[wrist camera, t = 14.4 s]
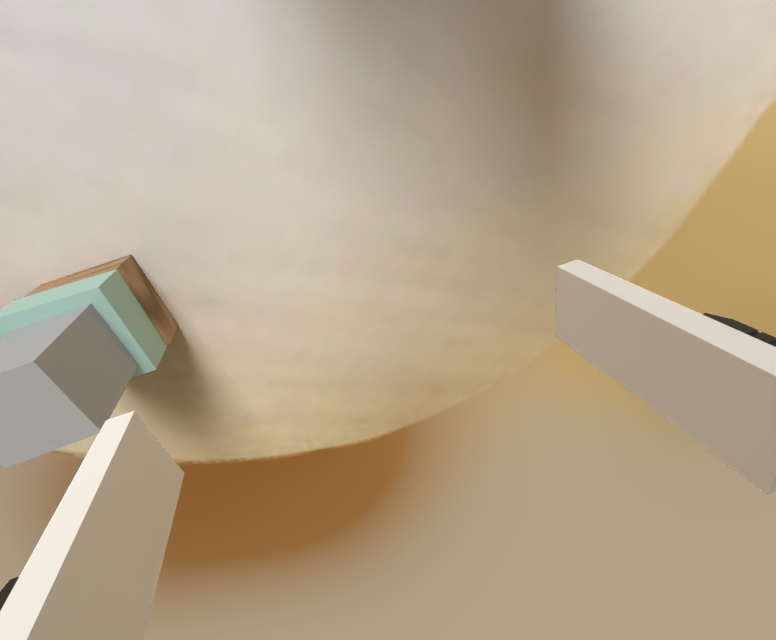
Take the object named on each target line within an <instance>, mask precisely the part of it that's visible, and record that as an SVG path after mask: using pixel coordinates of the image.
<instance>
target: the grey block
mask: <svg viewBox="0 0 776 640" xmlns="http://www.w3.org/2000/svg"><path fill="white" fill-rule="evenodd" d="M137 366H138V363H137V361H136V360H135V359H134V357H133V356H132V355H131V354H130V352H129V351H128V350H127V348H126V347H125V346H124V345H123V343H122V342H121V341H120V340H119V338H118V337H117V336H116V334H115V333H114V332H113V331H112V329H111V328H110V327H109V326H108V324H107V323H106V322H105V320H104V319H103V318H102V317H101V315H100V314H99V313H98V312H97V310H96V309H95V308H94V306H93V305H92V304H91V303H90V304H87V305H84V306H81V307H79V308H76V309H73V310H70V311H67V312H64V313H61V314H58V315H55V316H52V317H49V318H46V319H43V320H40V321H37V322H35V323H32V324H29V325H26V326H23V327H20V328H17V329H14V330H11V331H8V332H7V333H5V334H4V335H3V336H2V337H0V464H1V465H2V466H3V467H4V468H8V467H11V466H13V465H16V464H18V463H21V462H24V461H26V460H29V459H32V458H34V457H37V456H39V455H42V454H45V453H48V452H50V451H53V450H56V449H58V448H61V447H63V446H66V445H69V444H71V443H74V442H77V441H79V440H82V439H85V438H87V437H90V436H92V435H95V434H98V433H99V432H100V430H101V428H102V426H103V424H104V423H105V421H106V420H108V419H109V418H110V416H111V414H112V412H113V410H114V408H115V407H116V405H117V403H118V401H119V399H120V397H121V396H122V394H123V392H124V390H125V388H126V386H127V385H128V383H129V381H130V379H131V377H132V375H133V374H134V372H135V370H136V368H137Z"/></svg>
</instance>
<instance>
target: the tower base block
mask: <svg viewBox="0 0 776 640" xmlns="http://www.w3.org/2000/svg"><path fill="white" fill-rule="evenodd" d="M116 269H117V270H118V271H119V273H120V274H121V276H122V277H123V279H124V280H125V282H126V284H127V285H128V287H129V288H130V290H131V291H132V293H133V294H134V296H135V297H136V299H137V300H138V302H139V303H140V305H141V306H142V308H143V309H144V311H145V312H146V314H147V316H148V317H149V319H150V320H151V322H152V323H153V325H154V326H155V328H156V329H157V331H158V332H159V334H160V335H161V337H162V338H163V340H164V341H165V343H166V344H167V345H169V344H170V343H171V341H172V339H173V337H174V335H175V333H176V330H177V328H178V326H179V325H178V324H177V322H176V321H175V319H174V318H173V316H172V315H171V313H170V312H169V310H168V309H167V307H166V306H165V304H164V303H163V301H162V300H161V298H160V297H159V295H158V294H157V292H156V291H155V289H154V288H153V286H152V285H151V283H150V282H149V280H148V279H147V277H146V276H145V274H144V273H143V271H142V270H141V268H140V267H139V265H138V264H137V262H136V261H135V259H134V258H133V256H132V255H128V256H125V257H122V258H119V259H116V260H113V261H110V262H107V263H104V264H101V265H98V266H95V267H92V268H89V269H86V270H83V271H80V272H77V273H74V274H71V275H68V276H65V277H62V278H59V279H56V280H53V281H50V282H47V283H44V284H42V285H40V286H39V287H37V288H36V289H34V290H33V291H32V292H30V293H29V294H27V295H26V296H29V295H32V294H36V293H39V292H42V291H46V290H49V289H52V288H56V287H59V286H62V285H66V284H69V283H72V282H76V281H79V280H82V279H86V278H89V277H92V276H96V275H99V274H102V273H106V272H109V271H113V270H116ZM26 296H24V297H26Z"/></svg>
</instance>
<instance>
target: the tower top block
mask: <svg viewBox="0 0 776 640" xmlns="http://www.w3.org/2000/svg"><path fill="white" fill-rule="evenodd" d="M90 303H91V304H92V305H93V306H94V308H95V309H96V310H97V312H98V313H99V314H100V315H101V317H102V318H103V319H104V320H105V322H106V323H107V324H108V326H109V327H110V328H111V329H112V331H113V332H114V333H115V334H116V336H117V337H118V338H119V340H120V341H121V342H122V343H123V345H124V346H125V347H126V348H127V350H128V351H129V352H130V354H131V355H132V356H133V357H134V359H135V360H136V361H137V363H138V366H137V368H136V370H135V372H134V374H133V375H132V377H131V378H134V377H137V376H139V375H142V374H145V373H148V372H151V371H154V370H157V367H158V365H159V363H160V361H161V359H162V356H163V354H164V352H165V350H166V348H167V344H166V343H165V341H164V340H163V338H162V337H161V335H160V334H159V332H158V331H157V329H156V328H155V326H154V325H153V323H152V322H151V320H150V319H149V317H148V316H147V314H146V312H145V311H144V309H143V308H142V306H141V305H140V303H139V302H138V300H137V299H136V297H135V296H134V294H133V293H132V291H131V290H130V288H129V287H128V285H127V284H126V282H125V280H124V279H123V277H122V276H121V274H120V273H119V271H118V270H117V269H116V270H113V271H109V272H106V273H102V274H99V275H96V276H92V277H89V278H86V279H82V280H79V281H76V282H72V283H69V284H66V285H62V286H59V287H56V288H52V289H49V290H46V291H42V292H39V293H36V294H32V295H29V296H26V297H22V298H19V299H16V300H14V301H12V302H11V303H9V304H8V305H7V306H5V307H4V308H2V309H1V310H0V337H2V336H3V335H4V334H5V333H7V332H8V331H11V330H14V329H17V328H20V327H23V326H26V325H29V324H32V323H35V322H37V321H40V320H43V319H46V318H49V317H52V316H55V315H58V314H61V313H64V312H67V311H70V310H73V309H76V308H79V307H81V306H84V305H87V304H90Z"/></svg>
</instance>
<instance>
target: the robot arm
mask: <svg viewBox="0 0 776 640" xmlns="http://www.w3.org/2000/svg"><path fill="white" fill-rule="evenodd" d="M556 337H557V338H558V339H560V340H561V341H562V342H564V343H565V344H566V345H568V346H569V347H571V348H572V349H573V350H574V351H576V352H577V353H579V354H580V355H581V356H582V357H584V358H585V359H586V360H588V361H589V362H590V363H592V364H593V365H594V366H596V367H597V368H598V369H600V370H601V371H602V372H604V373H605V374H606V375H608V376H609V377H610V378H612V379H613V380H614V381H616V382H617V383H618V384H620V385H621V386H622V387H624V388H625V389H626V390H628V391H629V392H630V393H632V394H633V395H634V396H636V397H637V398H638V399H640V400H641V401H642V402H644V403H645V404H647V405H648V406H649V407H651V408H652V409H653V410H654V411H656V412H657V413H658V414H660V415H661V416H662V417H664V418H665V419H666V420H668V421H669V422H670V423H672V424H673V425H674V426H676V427H677V428H678V429H680V430H681V431H682V432H684V433H685V434H686V435H688V436H689V437H690V438H692V439H693V440H694V441H696V442H697V443H698V444H700V445H701V446H702V447H704V448H705V449H706V450H708V451H709V452H710V453H712V454H713V455H714V456H716V457H717V458H718V459H720V460H721V461H722V462H724V463H725V464H726V465H728V466H729V467H730V468H732V469H733V470H734V471H736V472H737V473H738V474H740V475H741V476H742V477H744V478H745V479H746V480H748V481H749V482H750V483H752V484H753V485H754V486H756V487H757V488H758V489H760V490H761V491H762V492H764V493H765V494H766V495H768V494H770V493H772V492H774V491H776V338H775V337H773V336H770V335H768V334H766V333H763V332H762V333H759V332H758V330H756V329H754V328H752V327H749V326H747V325H745V324H742V323H740V322H738V321H735V320H733V319H728V318H724V317H719V316H715V315H711V314H707V313H704V314H700V313H698V312H695V311H693V310H691V309H689V308H686V307H684V306H682V305H680V304H678V303H675V302H673V301H671V300H669V299H666V298H664V297H662V296H660V295H657V294H655V293H653V292H650V291H648V290H646V289H644V288H641V287H639V286H637V285H635V284H633V283H630V282H628V281H626V280H624V279H621V278H619V277H617V276H615V275H612V274H610V273H608V272H606V271H603V270H601V269H599V268H597V267H594V266H592V265H590V264H588V263H585V262H583V261H581V260H579V259H577V260H574V261H571V262H568V263H565V264H562V265H559V266H557V290H556ZM183 476H184V472H183V471H182V470H181V469H180V467H179V466H178V465H177V463H176V462H175V461H174V460H173V458H172V457H171V456H170V455H169V453H168V452H167V451H166V450H165V448H164V447H163V446H162V444H161V443H160V442H159V441H158V439H157V438H156V437H155V436H154V434H153V433H152V432H151V431H150V429H149V428H148V427H147V425H146V424H145V423H144V422H143V420H142V419H141V418H140V417H139V415H138V414H137V413H136V412H135V411H132V412H129V413H126V414H123V415H120V416H117V417H114V418H111V419H108V420H106V421H105V423H104V424H103V426H102V428H101V430H100V432H99V434H98V435H97V437H96V439H95V441H94V443H93V444H92V446H91V448H90V450H89V452H88V453H87V455H86V457H85V459H84V461H83V462H82V464H81V466H80V468H79V470H78V472H77V473H76V475H75V477H74V479H73V481H72V482H71V484H70V486H69V488H68V490H67V491H66V493H65V495H64V497H63V499H62V500H61V502H60V504H59V506H58V508H57V510H56V511H55V513H54V515H53V517H52V519H51V521H50V522H49V524H48V526H47V528H46V530H45V531H44V533H43V535H42V537H41V539H40V540H39V542H38V544H37V546H36V548H35V549H34V551H33V553H32V555H31V557H30V558H29V560H28V562H27V564H26V566H25V568H24V569H23V571H22V573H21V575H20V576H19V577H16V578H14V579H11V580H10V581H9V582H8V583H7V584H6V586H5V587H4V588H3V589H2V590H1V591H0V640H143V639H144V635H145V631H146V627H147V623H148V619H149V615H150V611H151V607H152V603H153V599H154V594H155V590H156V586H157V582H158V578H159V574H160V570H161V566H162V562H163V558H164V554H165V550H166V546H167V542H168V538H169V534H170V529H171V525H172V521H173V517H174V513H175V509H176V505H177V501H178V497H179V493H180V488H181V484H182V481H183Z"/></svg>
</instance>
